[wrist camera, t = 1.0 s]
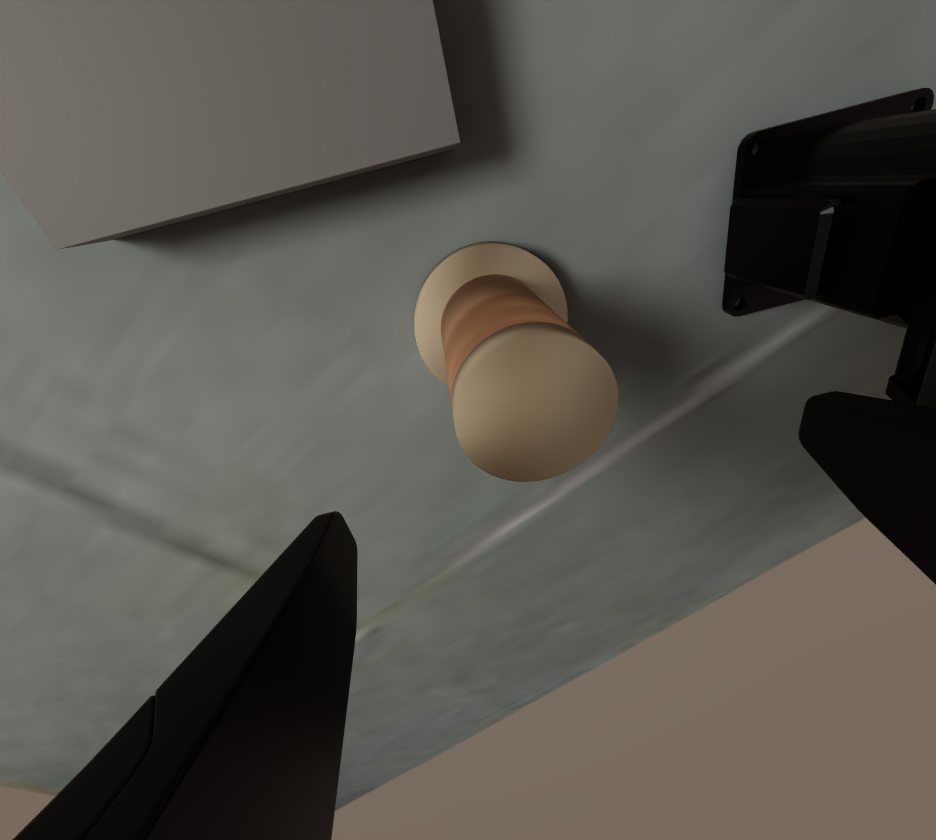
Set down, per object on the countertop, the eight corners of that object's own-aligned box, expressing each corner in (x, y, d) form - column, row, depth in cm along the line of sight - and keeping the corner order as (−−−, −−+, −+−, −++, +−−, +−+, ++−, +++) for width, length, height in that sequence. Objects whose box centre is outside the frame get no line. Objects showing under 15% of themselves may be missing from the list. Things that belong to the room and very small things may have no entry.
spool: (551, 223, 15) (662, 254, 8) (566, 368, 18) (657, 480, 11) (395, 264, 15) (375, 328, 8) (436, 401, 18) (446, 531, 11)
